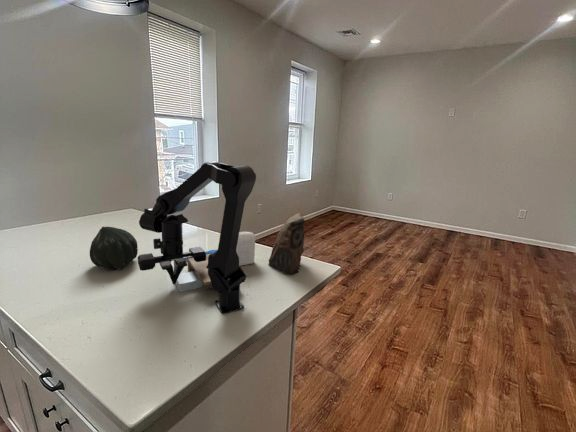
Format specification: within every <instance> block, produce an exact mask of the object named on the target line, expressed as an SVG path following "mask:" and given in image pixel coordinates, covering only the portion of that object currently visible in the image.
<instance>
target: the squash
mask: <svg viewBox="0 0 576 432" xmlns="http://www.w3.org/2000/svg"><path fill="white" fill-rule="evenodd" d="M138 247H139V246H138V241H137V240H136V238H135V236H134V235H133V234H132V233H130V232H129V231H128V230H126V229H122V228H119V227H118V228H117V227H113V226H102V227H101V228H100V229H99V231H98V232H97V234H96V236H94V238H93V240H92V241H91V244H90V248H89V258H90V261H91V262H92V264H93V265H95V266H96V267H98V268H103V269H104V270H108V271H109V270H110V271H111V270H113V269H116V270H120V269H123V268H124V266H125V265H129V264H131V263H133V261H134V260H135V259H136V258H137V257H138V250H139V249H138Z"/></svg>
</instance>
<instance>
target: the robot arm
mask: <svg viewBox="0 0 576 432" xmlns="http://www.w3.org/2000/svg"><path fill="white" fill-rule="evenodd" d="M256 180H257V175H256V172H255V171H254V168H252V167H251V166H249V165H246V164H245V165H239V166H237V165H232V164H226V163H222V162H219V161H207V162H204V163H203V164H201V166H200V167H199V168H198V169H197V170H195V172H194V173H192V174H191V175H190V176H189V177H188V178H186V179H185V180H184V181H183V182H182V183H181V184H179V185H178V186H177V187H176V188H174V189H171V190H169V191H166V192H165V193H162V194H160V195H158V196H157V197H156V199H155V201H156V202H155V203H154V206H153V207H146V208H144V209H143V213H142V214H141V215H140V218H139V221H138V224H139V226H140V228H141V229H142V230H146V231H149V232H152V233H153V232H154V233H158V234H160V233H161V238H160V237H159V238H153V239H152V240H153V249H154V250H158V249H160V253H161V255H159V256H157V255H156V256H154V254H153V253H143V254H139V255H137V264H138V268H139V270H140V271H143V272H144V271H150V270H153V269H154V268H156V264H159V265H160V268H161V269H162V270H163V271H165V270H166V272H167V273H168V275H169V277H170V280H171V283H172V285H176V282H177V279H178V277H179V275H180V274H181V273H182V272H183V270H184V268H185V267H188V262H186V259H188V258H194V260H195V261H196V262H201V261H206V251H205V250H204V249H203V248H202V247H201V246H196V247H189V249H188V252H187V251H186V252H184V240H183V239H184V238H183V237H184V236H183V224H186V223H188V222H189V219H188V218H187V217H186V216H184V215H183V213H181V212H183V211H184V210H185V209H186V208H187V207H188V205H189V204H190V202H191V201H190V200H191V199H192V197H194V196H195V195H197V194H198V193H199V192H201V190H203V189H204V188H205V187H206V186H208V185H209V184H211V182H213V183H216V184H219V185H221V192H222V194H223V196H224V199H225V202H224V209H223V213H222V219H221V226H220V227H221V228H220V232H219V233H220V234H219V241H218V245H217V249H216V250H217V251H216V252H214V253H212V254H210V255H209V257H208V265H207V267H206V268H208V276H209V277H210V280H211V284H212V287H213V288H212V290H213V291H215V292H217V293H218V300H214V303H215V305H216V307H217V309H218V310H219V311H220V313H221V314H227V313H231V312H233V311H237V310H241V309H242V310H243V309H244V308H245V305H244V303H243V302H241V300H240V299H241V293H240V292H241V284H243V283H245V282H246V280H247V274H246V273H245V271H244V270H243V268H241V266H239V257H238V254H237V252H236V248H237V242H238V237H239V232H241V231H240V230H241V225H242V219H243V214H244V209H245V203H246V201H247V199H248V198H249V196H250V195H251V193H252V192H253V190H254V188H255V187H254V186H255V184H256V182H257V181H256ZM175 213H181V214H177V215H176V214H175ZM174 214H175V215H174ZM172 262H173V265H172Z"/></svg>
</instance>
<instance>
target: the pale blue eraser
mask: <svg viewBox="0 0 576 432" xmlns="http://www.w3.org/2000/svg"><path fill="white" fill-rule="evenodd" d="M202 285H204V284H203V283H202V281H201V280H200V278H199V277H198V275H197V274H196V272H195V271H192V272H188V271H187V272H181V273H180V275H179V277H178V279H177V282H176V284H175V286H176V287H177V290H178V291H179V292H184V291H190V290H194V289H199V288H202Z"/></svg>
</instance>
